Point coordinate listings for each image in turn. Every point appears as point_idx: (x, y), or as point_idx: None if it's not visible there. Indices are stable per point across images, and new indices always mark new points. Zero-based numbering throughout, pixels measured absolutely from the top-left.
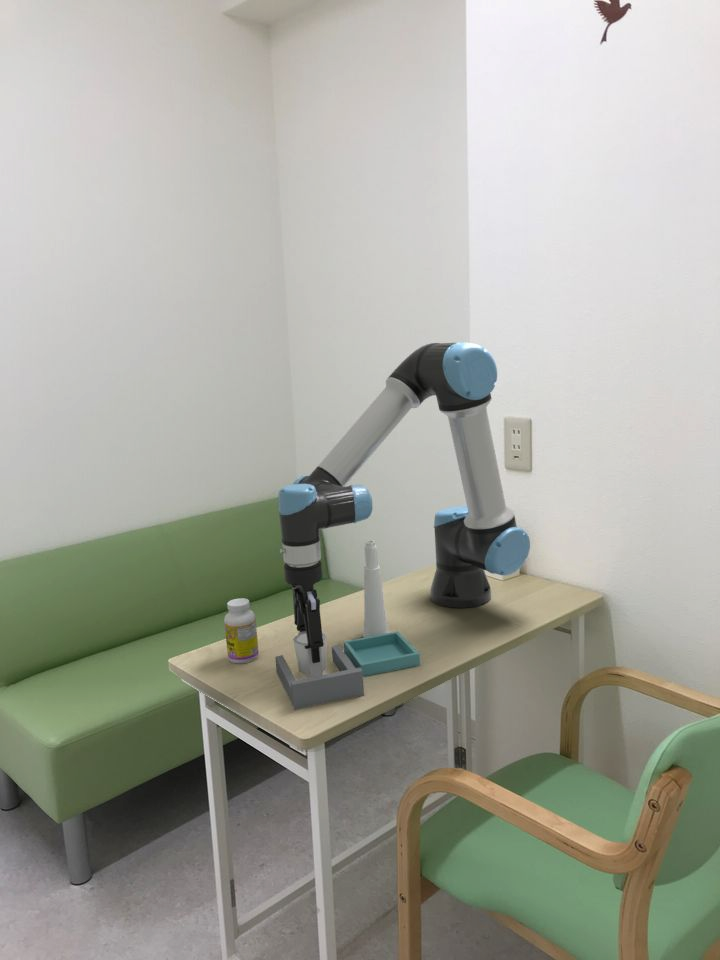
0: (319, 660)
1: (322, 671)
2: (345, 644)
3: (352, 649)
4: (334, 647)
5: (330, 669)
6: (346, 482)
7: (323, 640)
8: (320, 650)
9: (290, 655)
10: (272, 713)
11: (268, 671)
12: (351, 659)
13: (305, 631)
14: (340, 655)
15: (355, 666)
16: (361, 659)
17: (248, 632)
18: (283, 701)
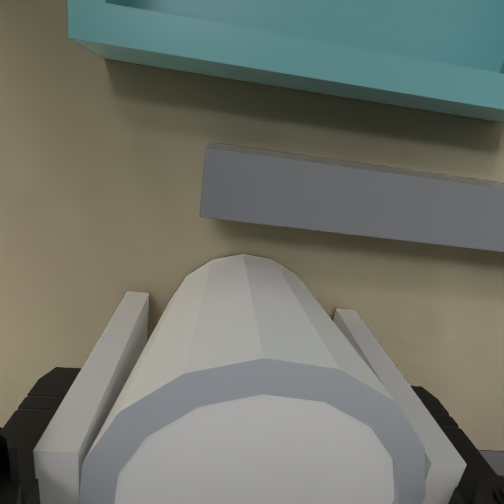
0: (435, 401)
1: (362, 321)
2: (145, 49)
3: (280, 42)
4: (241, 204)
5: (297, 242)
6: None
7: (404, 422)
8: (431, 423)
9: (3, 368)
10: None
11: None
12: (300, 85)
13: (51, 497)
14: (411, 222)
15: (385, 101)
16: (314, 4)
17: None
18: None
